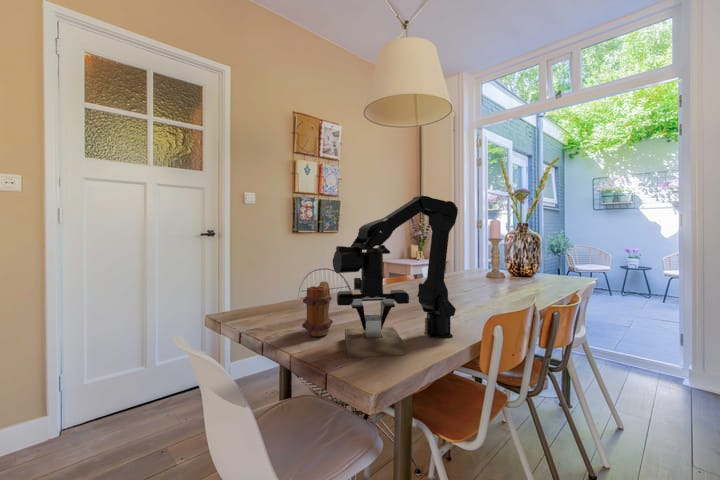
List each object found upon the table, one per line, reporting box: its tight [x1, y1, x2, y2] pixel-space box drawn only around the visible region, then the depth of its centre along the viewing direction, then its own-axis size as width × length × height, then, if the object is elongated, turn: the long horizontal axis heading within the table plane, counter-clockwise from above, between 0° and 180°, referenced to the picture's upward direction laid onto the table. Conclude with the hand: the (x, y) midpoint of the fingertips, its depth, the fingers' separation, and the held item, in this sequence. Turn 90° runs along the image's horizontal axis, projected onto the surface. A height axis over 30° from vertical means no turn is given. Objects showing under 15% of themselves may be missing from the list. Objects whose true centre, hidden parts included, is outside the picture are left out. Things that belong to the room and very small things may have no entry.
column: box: [364, 314, 381, 339], centre depth 87 cm, size 4×4×8 cm
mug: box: [301, 281, 334, 338], centre depth 100 cm, size 15×8×15 cm, turn 168°
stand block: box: [344, 326, 406, 358], centre depth 87 cm, size 14×14×4 cm
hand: (372, 329), depth 87 cm, fingers closed on column, 4 cm apart
